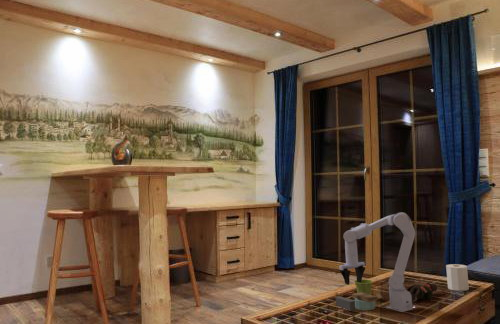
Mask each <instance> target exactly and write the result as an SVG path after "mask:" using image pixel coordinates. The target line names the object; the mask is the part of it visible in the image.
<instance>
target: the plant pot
mask: <svg viewBox="0 0 500 324" xmlns="http://www.w3.org/2000/svg"><path fill="white" fill-rule="evenodd" d="M353 283H354V285H355V288H356V293H359V292H361V293H365V294H369V295H372V285H373V283H374V281H373V280H371V279H363V278H362V281H361V282H357V279H355V280H354V281H353Z"/></svg>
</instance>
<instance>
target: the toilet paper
mask: <svg viewBox="0 0 500 324" xmlns="http://www.w3.org/2000/svg"><path fill="white" fill-rule="evenodd" d="M445 270H446V281H447V289H448V290H450V291H451V290H452V291H457V292H463V291H469V289H470V288H469V287H470V286H469V277H468V275H469V274H468V266H467V265H465V264H458V263H456V264H455V263H453V264H451V263H450V264H445Z"/></svg>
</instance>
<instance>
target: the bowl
mask: <svg viewBox="0 0 500 324" xmlns="http://www.w3.org/2000/svg"><path fill="white" fill-rule="evenodd" d="M354 301H355V307H356V308H357V310H359V311H372V310H375V309H376V301H372V302H366V301H362V300H359V299H356V298H354ZM356 308H355V309H356Z"/></svg>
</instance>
